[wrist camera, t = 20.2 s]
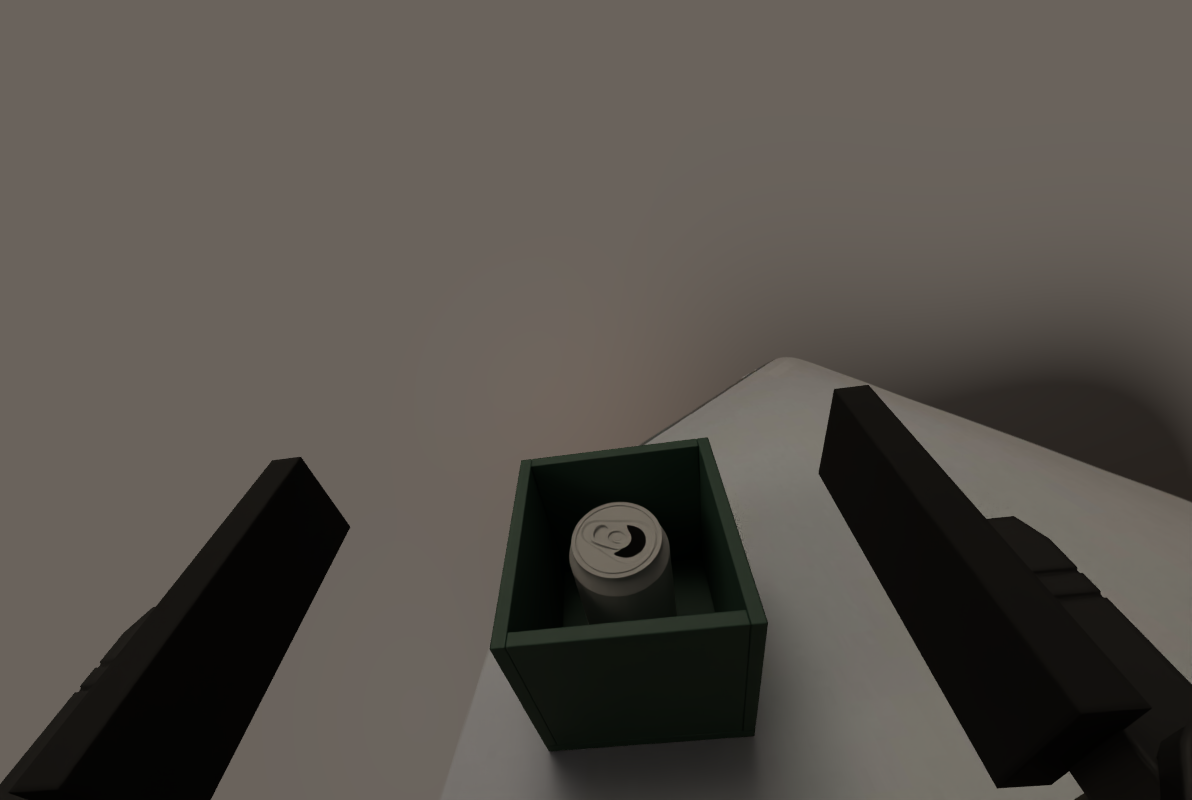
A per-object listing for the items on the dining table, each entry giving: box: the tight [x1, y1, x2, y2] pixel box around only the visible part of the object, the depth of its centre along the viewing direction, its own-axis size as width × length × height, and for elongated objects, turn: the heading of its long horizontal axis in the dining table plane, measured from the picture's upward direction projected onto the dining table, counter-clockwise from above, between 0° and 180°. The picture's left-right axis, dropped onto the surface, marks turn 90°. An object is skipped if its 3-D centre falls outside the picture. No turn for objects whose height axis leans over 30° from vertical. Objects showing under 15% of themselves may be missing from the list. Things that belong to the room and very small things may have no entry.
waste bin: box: [490, 437, 768, 751], centre depth 32 cm, size 14×14×14 cm
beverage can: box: [569, 502, 677, 625], centre depth 32 cm, size 6×6×12 cm
